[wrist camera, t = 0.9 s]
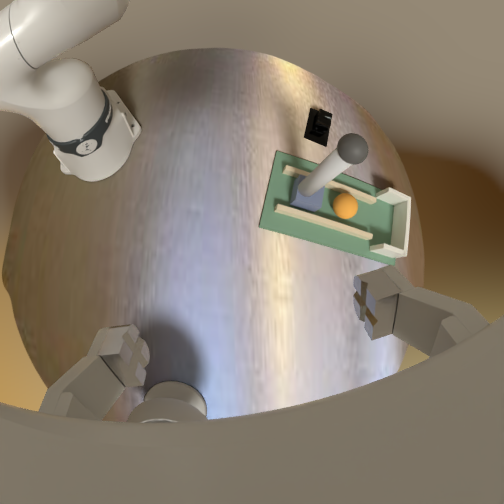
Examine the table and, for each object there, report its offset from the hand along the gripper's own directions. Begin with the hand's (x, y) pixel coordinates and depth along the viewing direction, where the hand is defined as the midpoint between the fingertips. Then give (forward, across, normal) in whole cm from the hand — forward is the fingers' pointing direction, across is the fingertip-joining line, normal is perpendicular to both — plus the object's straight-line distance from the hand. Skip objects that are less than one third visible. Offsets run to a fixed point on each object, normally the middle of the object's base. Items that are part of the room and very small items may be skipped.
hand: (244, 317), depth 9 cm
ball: (+40, -20, +13) cm, 46 cm away
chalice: (+20, +20, +36) cm, 46 cm away
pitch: (+42, -19, +14) cm, 48 cm away
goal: (+42, -20, +14) cm, 48 cm away
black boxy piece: (+53, -20, -2) cm, 57 cm away
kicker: (+42, -12, +10) cm, 44 cm away
